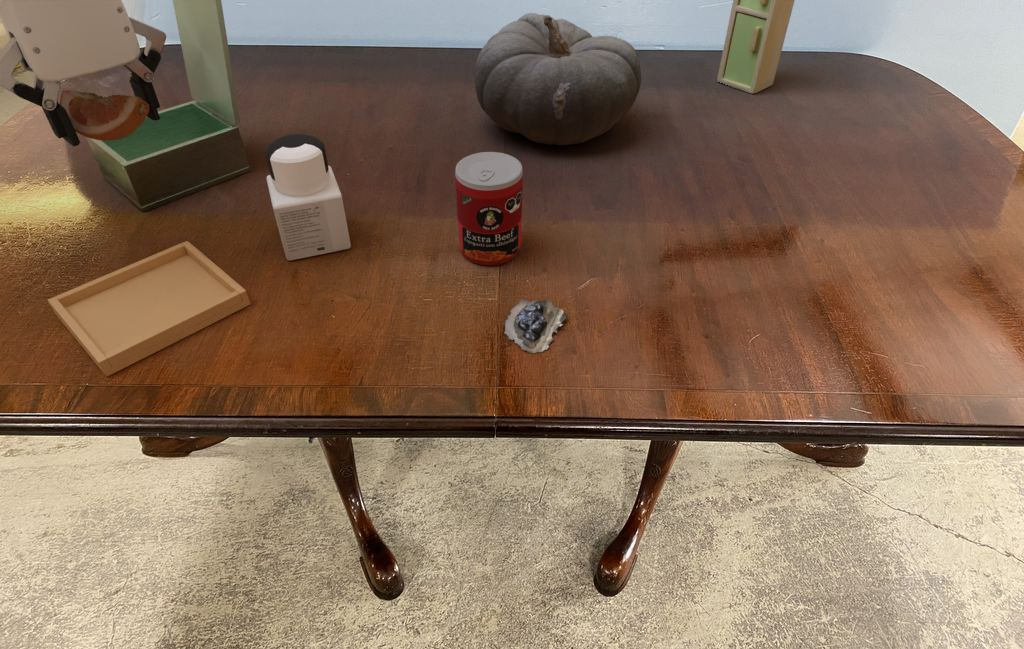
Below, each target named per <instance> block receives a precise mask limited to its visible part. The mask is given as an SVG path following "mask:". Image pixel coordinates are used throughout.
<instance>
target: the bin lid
mask: <svg viewBox="0 0 1024 649" xmlns="http://www.w3.org/2000/svg"><path fill="white" fill-rule="evenodd" d="M172 5H173V10H174V14H175V21H176V25H177V30H178V35H179V41H180V46H181V47H180V48H181V51H182V55H183V62H184V67H185V73H186V78H187V82H188V83H187V84H188V87H189V93H190V98H192V99H193V100H195V101H197V102H198V103H200V104H202V105H203V106H205V107H207V108H208V109H210V110H212V111H213V112H215V113H216V114H218V115H220V116H221V117H223V118H225V119H226V120H228V121H230V122H231V123H233V124H234V125H237V124H240V123H241V119H240V113H239V107H238V99H237V94H236V88H235V80H234V75H233V68H232V67H233V66H232V62H231V54H230V47H229V43H228V36H227V29H226V22H225V17H224V16H225V15H224V10H223V2H222V0H172Z"/></svg>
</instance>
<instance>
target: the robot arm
mask: <svg viewBox="0 0 1024 649" xmlns="http://www.w3.org/2000/svg"><path fill="white" fill-rule="evenodd" d="M0 20H1V23H2V25H3V28H4V31H5V33H6V36H7V38H8V41H7V43H6V44H5V45H4V47H3V48H2V49H1V51H0V86H1V87H2V88H3V89H5V90H7V91H9V92H11V93H13V94H14V95H15V96H17V97H18V98H20V99H23V100H25V101H27V102H29V103H32V104H34V105H36V106H38V107H41V109H42V111H43V113H44V115H45V118H46V120H47V121H48V123H49V125H50V128H51V130H52V132H53V134H54V135H55V136H56V137H57V138H58V139H63V140H65V141H66V142H67V143H68V144H69V145H71V146H72V147H74V148H75V147H77V146H79V145H80V144H81V140H80V138H79V136H78V133H77V132H76V131H75V129H74V127H73V125H72V122H71V120H70V118H69V116H68V114H67V111H66V109H65V108H64V107H63V106H61V105H60V102H59V101H58V100H59V94H60V88H61V84H62V82H64V81H68V80H72V79H75V78H79V77H83V76H88V75H91V74H96V73H100V72H102V71H107V70H110V69H114V68H117V67H121V66H123V67H124V68H125V69H127V70H128V71H129V72H130V75H131V76H129V84H130V86H131V90H132V92H133V94H134V95H133V96H137V97H140V98H141V99H143V100H144V101H146V102H147V103H148V104H149V113H148V115H147V117H149V118H150V119H152V120H155V121H156V120H159V119H160V116H159V114H158V111H159V110H158V109H160V108H161V104H160V102H159V99H158V96H157V93H156V90H155V87H154V84H153V82H154V80H155V73H156V70H157V69H158V66H159V64H160V62H161V60H162V55H161V54H162V52H163V50H164V46H165V45H166V44H165V43H166V40H167V34H166V32H164V31H163V30H160V29H159V28H156V27H154V26H152V25H149V24H147V23H144V22H142V21H140V20H138V19H135V18H133V17H131V16H129V14H128V12H127V9H126V8H125V5H124V2H123V1H122V0H0ZM137 35H139V36H141V37H144V38H145V47H144V48H143V49H142V51H141V48H140V43H139V39H138V36H137ZM19 64H20V65H21V67H22V68H23V70H24V71H28V72H33V73H34V80H33V85H32V86H30V85H28V84H26V83H24V82H22V81H20V80H18V79H16V78H14V76H13V72H14V71H15V70H16V68H17V67H18V65H19Z"/></svg>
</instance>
